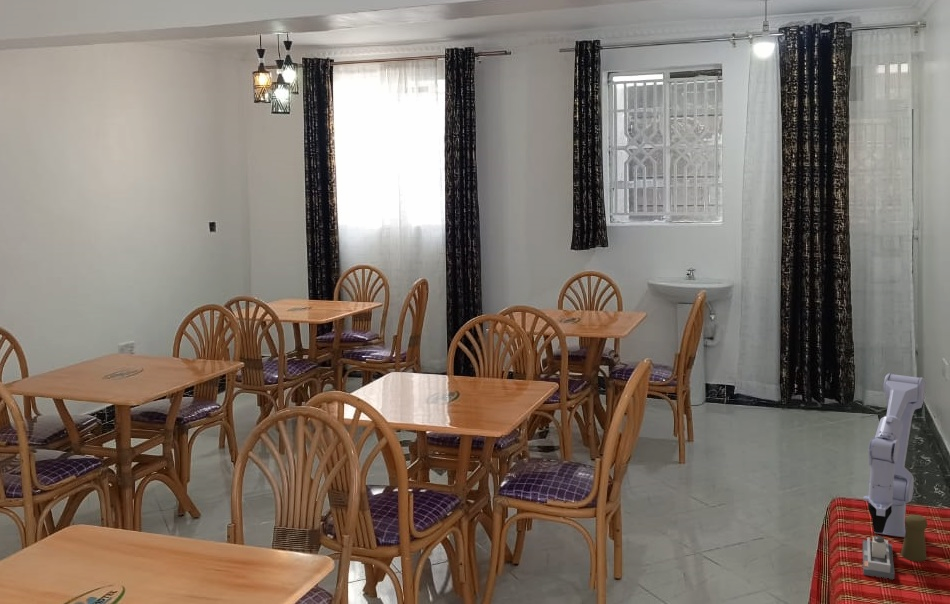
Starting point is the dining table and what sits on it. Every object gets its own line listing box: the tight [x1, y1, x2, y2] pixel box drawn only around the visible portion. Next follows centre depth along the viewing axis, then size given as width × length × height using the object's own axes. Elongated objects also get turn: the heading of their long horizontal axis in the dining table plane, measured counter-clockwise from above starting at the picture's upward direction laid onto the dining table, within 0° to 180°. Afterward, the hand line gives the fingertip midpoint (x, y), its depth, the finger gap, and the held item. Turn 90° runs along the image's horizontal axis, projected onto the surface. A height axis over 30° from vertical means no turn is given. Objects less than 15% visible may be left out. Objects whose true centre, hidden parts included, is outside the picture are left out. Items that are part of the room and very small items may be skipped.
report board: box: [862, 537, 895, 580], centre depth 222 cm, size 18×7×4 cm, turn 156°
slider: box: [871, 535, 886, 559], centre depth 222 cm, size 3×3×5 cm
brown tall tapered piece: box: [900, 514, 928, 562], centre depth 224 cm, size 6×6×11 cm
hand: (878, 531), depth 228 cm, fingers closed
